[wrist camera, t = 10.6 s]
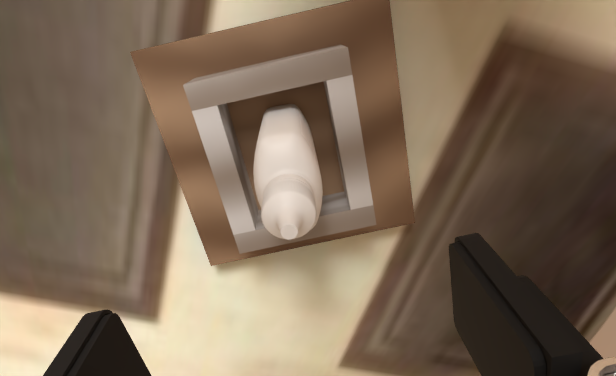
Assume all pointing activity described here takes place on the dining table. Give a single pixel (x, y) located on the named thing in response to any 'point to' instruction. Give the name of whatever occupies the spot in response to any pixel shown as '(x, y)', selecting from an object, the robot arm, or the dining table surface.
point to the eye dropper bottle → (287, 173)
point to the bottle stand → (274, 92)
